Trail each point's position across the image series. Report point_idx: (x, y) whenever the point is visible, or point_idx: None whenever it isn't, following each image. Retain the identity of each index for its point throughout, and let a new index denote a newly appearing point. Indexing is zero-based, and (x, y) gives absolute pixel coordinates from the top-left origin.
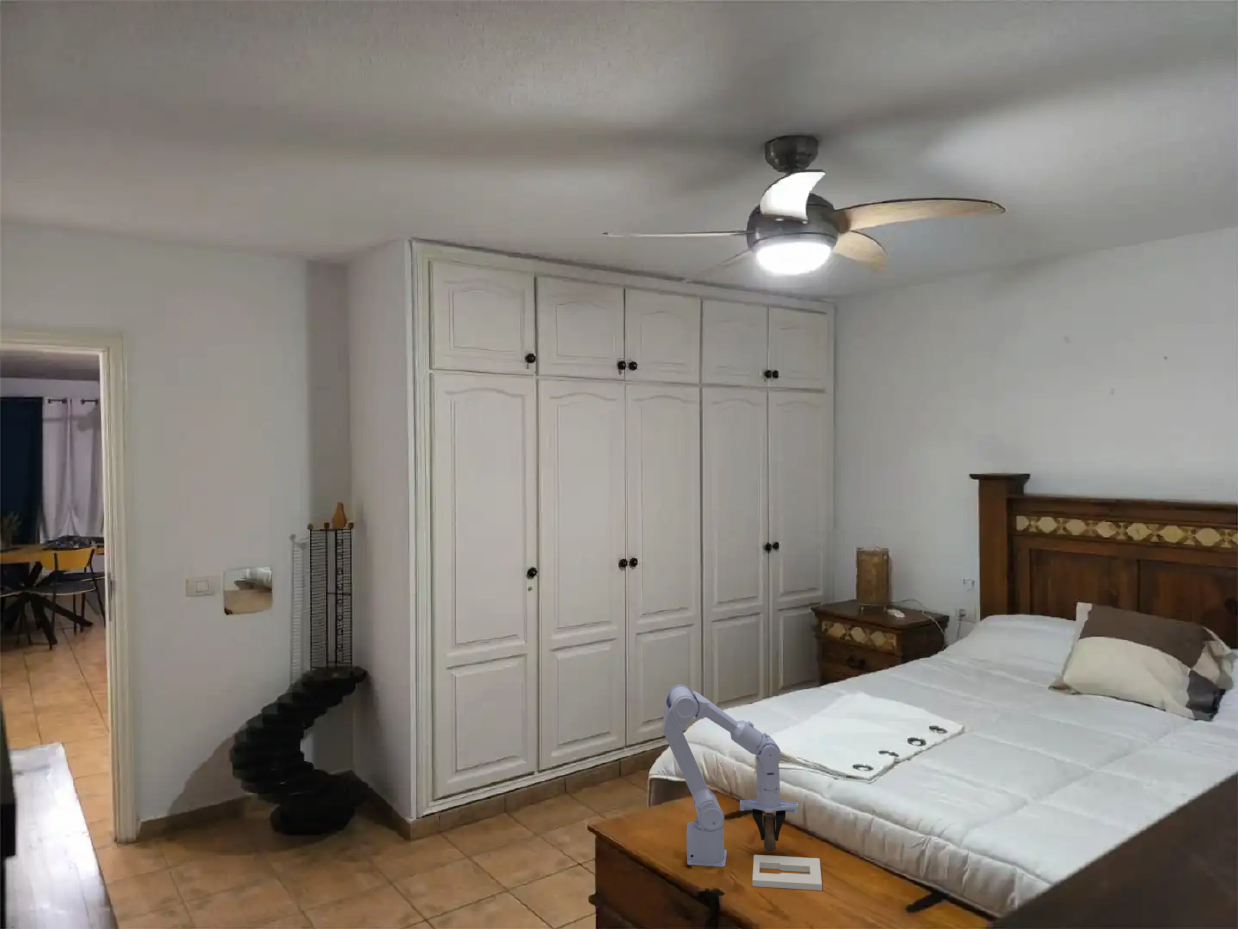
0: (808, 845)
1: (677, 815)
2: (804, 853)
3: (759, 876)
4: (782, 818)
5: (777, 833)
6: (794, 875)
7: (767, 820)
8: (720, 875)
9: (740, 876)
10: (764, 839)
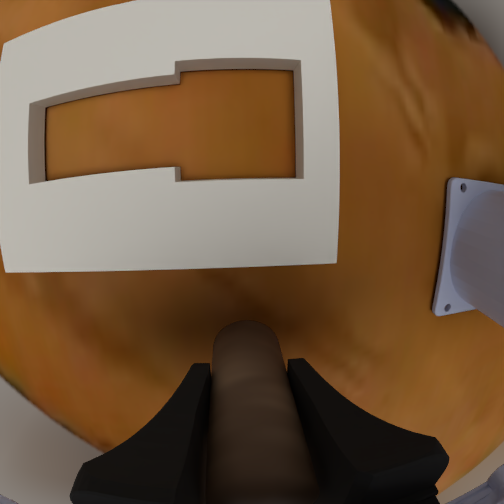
0: (96, 407)
1: (480, 443)
2: (93, 355)
3: (296, 25)
4: (92, 478)
5: (188, 391)
6: (98, 66)
7: (280, 469)
8: (454, 116)
9: (383, 103)
10: (283, 367)
